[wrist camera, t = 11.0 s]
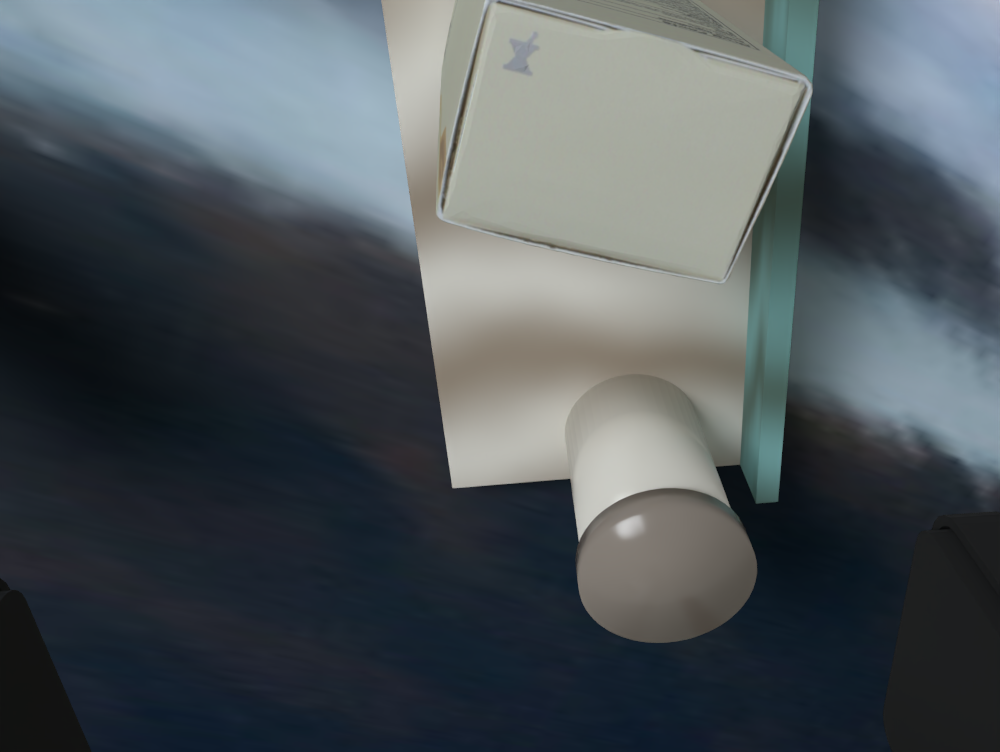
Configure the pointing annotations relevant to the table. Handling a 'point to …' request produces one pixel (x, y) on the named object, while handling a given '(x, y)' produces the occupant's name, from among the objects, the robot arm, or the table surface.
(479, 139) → the skincare box
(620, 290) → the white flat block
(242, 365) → the table surface
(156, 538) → the table surface
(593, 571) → the cream jar
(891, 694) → the robot arm
